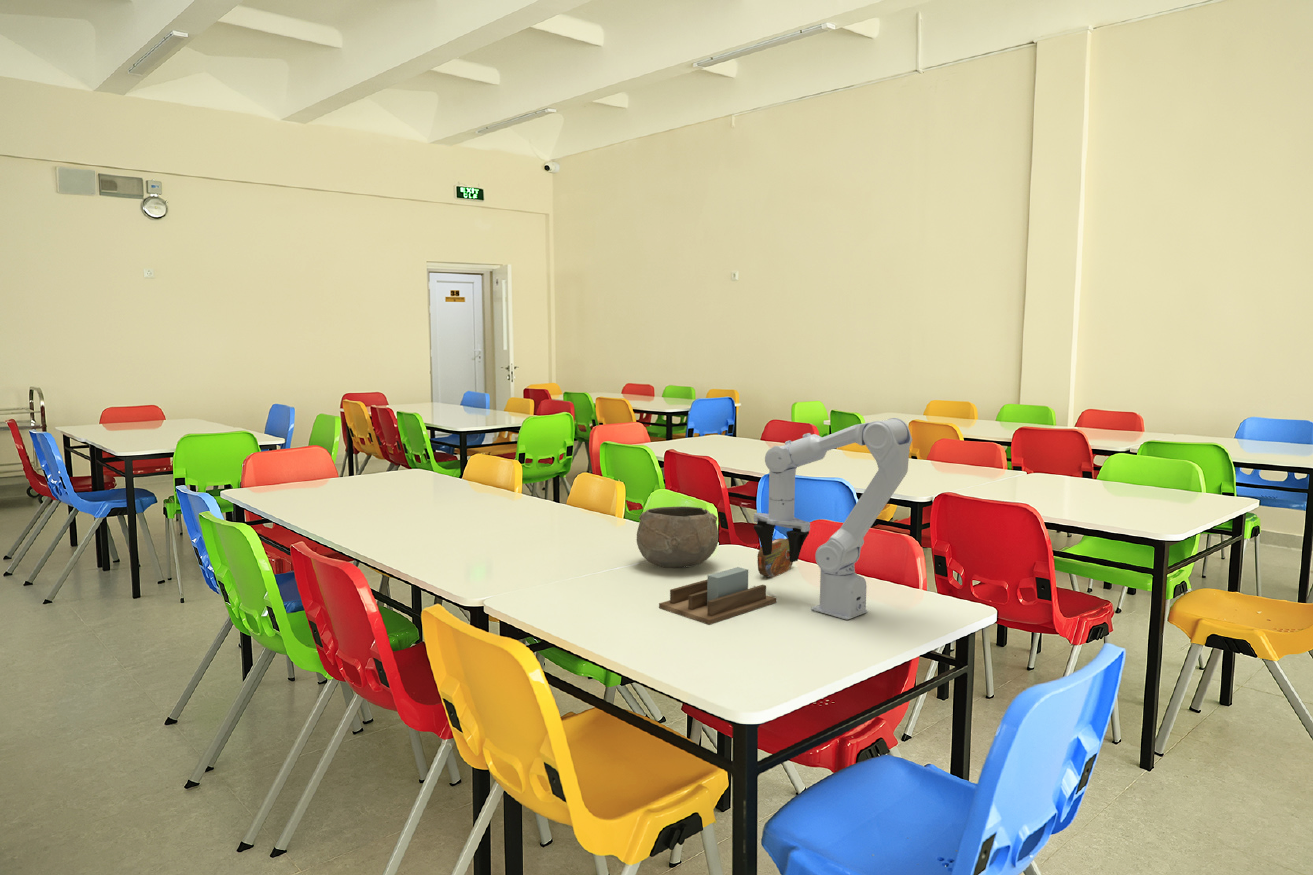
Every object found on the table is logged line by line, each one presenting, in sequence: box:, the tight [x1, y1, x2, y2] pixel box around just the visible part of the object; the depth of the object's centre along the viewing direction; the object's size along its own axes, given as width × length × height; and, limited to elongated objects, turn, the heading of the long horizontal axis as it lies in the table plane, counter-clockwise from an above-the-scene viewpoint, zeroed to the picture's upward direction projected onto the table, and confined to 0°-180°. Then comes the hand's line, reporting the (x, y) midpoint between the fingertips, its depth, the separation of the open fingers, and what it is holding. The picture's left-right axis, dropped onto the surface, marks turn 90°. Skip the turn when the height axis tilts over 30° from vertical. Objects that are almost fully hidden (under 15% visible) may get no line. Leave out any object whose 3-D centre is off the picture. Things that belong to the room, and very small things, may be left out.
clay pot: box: [636, 506, 719, 569], centre depth 219 cm, size 21×21×15 cm
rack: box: [658, 578, 778, 626], centre depth 188 cm, size 15×22×4 cm
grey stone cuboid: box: [706, 566, 749, 607], centre depth 185 cm, size 3×10×7 cm, turn 134°
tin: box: [756, 537, 794, 579], centre depth 214 cm, size 15×3×8 cm, turn 143°
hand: (780, 557), depth 192 cm, fingers open, 7 cm apart
